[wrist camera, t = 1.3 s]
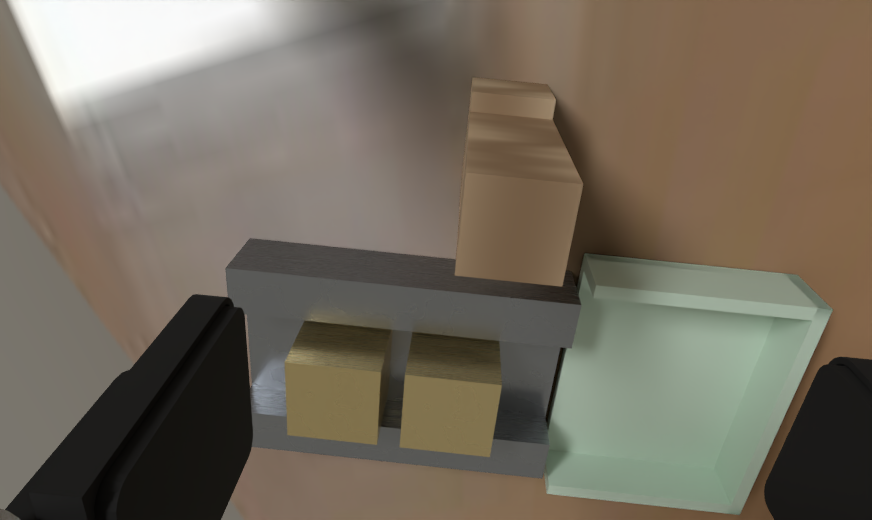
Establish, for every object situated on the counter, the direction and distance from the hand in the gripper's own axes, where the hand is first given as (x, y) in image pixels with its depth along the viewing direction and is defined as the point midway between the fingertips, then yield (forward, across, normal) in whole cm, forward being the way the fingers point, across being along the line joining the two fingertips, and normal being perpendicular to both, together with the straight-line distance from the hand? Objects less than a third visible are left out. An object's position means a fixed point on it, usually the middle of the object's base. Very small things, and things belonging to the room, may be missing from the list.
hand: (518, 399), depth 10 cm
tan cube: (+16, +5, +11) cm, 20 cm away
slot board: (+17, +3, +11) cm, 20 cm away
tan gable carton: (+17, -1, 0) cm, 17 cm away
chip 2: (+16, 0, +11) cm, 19 cm away
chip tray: (+17, -10, +11) cm, 22 cm away
